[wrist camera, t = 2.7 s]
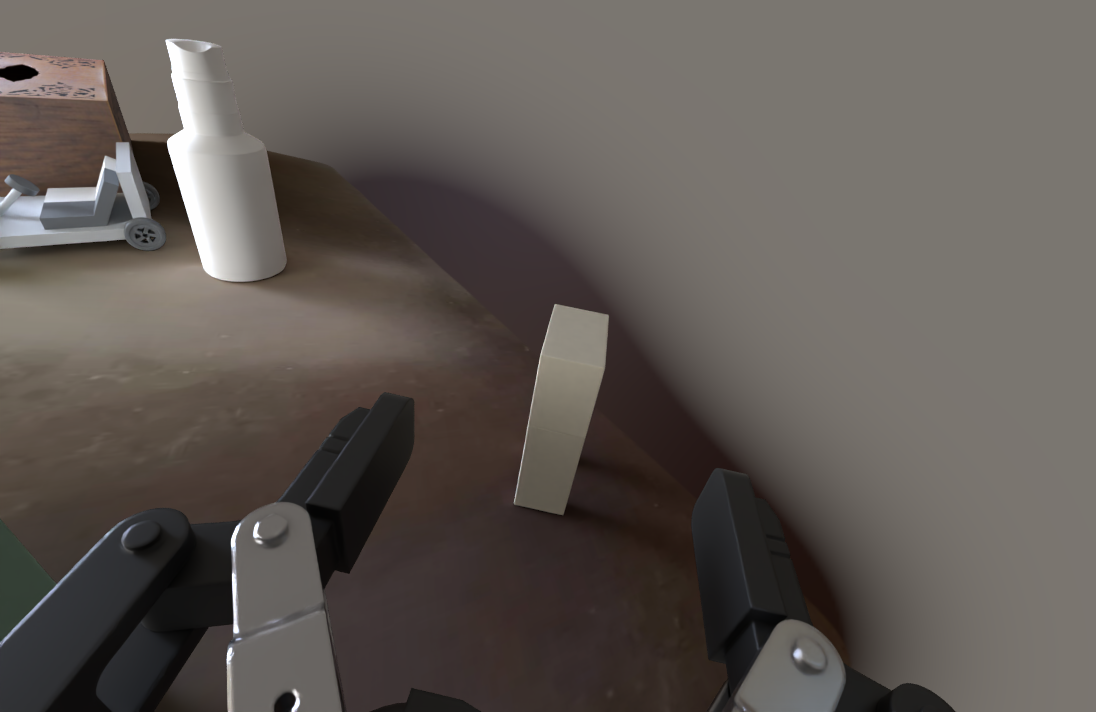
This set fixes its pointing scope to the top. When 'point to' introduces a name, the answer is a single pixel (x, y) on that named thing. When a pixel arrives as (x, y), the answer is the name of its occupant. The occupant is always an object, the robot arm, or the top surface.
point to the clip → (561, 407)
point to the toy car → (84, 209)
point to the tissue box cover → (56, 121)
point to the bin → (18, 581)
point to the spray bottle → (222, 170)
